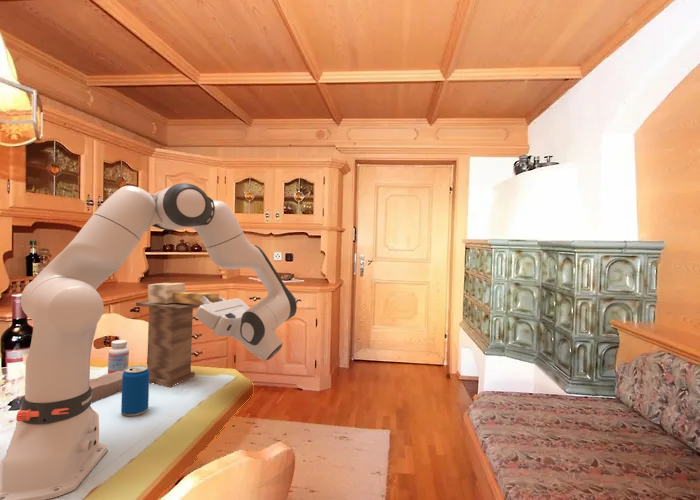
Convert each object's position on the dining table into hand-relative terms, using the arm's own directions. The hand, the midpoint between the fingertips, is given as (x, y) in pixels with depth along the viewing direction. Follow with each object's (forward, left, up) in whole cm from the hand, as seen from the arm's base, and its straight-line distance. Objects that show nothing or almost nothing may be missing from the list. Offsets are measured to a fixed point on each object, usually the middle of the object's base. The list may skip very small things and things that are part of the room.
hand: (207, 296), depth 126 cm
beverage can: (-15, +18, -29) cm, 38 cm away
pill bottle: (+19, +28, -29) cm, 45 cm away
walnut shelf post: (+9, +11, -29) cm, 33 cm away
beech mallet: (+5, +7, -3) cm, 9 cm away
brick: (+2, +29, -30) cm, 42 cm away
